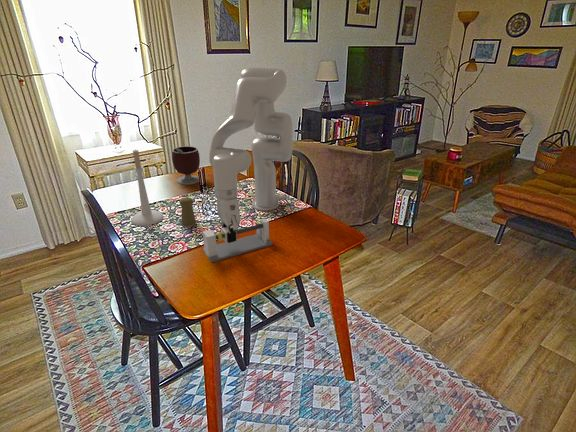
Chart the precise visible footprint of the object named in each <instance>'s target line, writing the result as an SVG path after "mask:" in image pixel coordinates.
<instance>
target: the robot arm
mask: <svg viewBox="0 0 576 432" xmlns="http://www.w3.org/2000/svg"><path fill="white" fill-rule="evenodd" d="M287 80H288V79H287V74H286V72H285V71H284V70H283V69H280V68H269V67H268V68H266V67H248V68H244V69H243V70H242V71H241V72H240V79H238V81H237V82H236V85H235V89H234V90H235V91H234V94H233V101H232V105H231V109H230V115H229V116H228V119H227V120H225V121H224V122H223V123H222V124H221V125H220V126H219V127H218V129H216V131H215V133H214V134H213V137H212V139H211V143H210V149H209V156H208V158H209V159H208V160H209V163H210V165H211V167H212V169H213V170H212V174H213V183H214V185H213V186H214V197H215V198H216V211H217V216H218V218H219V220H220V224H221V228H224V227H227V229H228V233H227V242H228V243H231V242H235V241H236V230H238V229H239V227H238V225H240V224H241V213H240V205H239V200H238V195H239V193H238V192H239V191H238V174H240V173H243V172H245V171H247V170H248V169H249V167H250V166H251V165H252V161H253V169H254V170H253V173H254V199H253V200H252V202H251V207H252V208H253V209H255V210H257V211H261V212H262V211H263V212H264V211H265V212H266V211H267V212H269V211H273V210H277V208H279V206H280V202H279V201H280V200H284V199H286V196H285V194H282V195H280V193H276V192H277V188H276V187H277V185H276V184H277V171H276V170H277V169H276V165H275V164H274V162H282V163H283V162H289V161H290V160H291V159H292V157H293V120H292V117H291V115H290V114H289V113H287V112H281V111H275V102H276V101H277V100H278V99H279V97H280V96H281V95H282V94H283V92H284V91H285V89H286V86H287ZM252 126H254V131H255V132H256V133H257V134H259V135H261V136H258V137H256V138H254V140H252V141H251V142H252V143H251V146H250V147H251V153H252V154H251V153H250V152H249V151H248V150H246V149H241V148H234V147H233V148H232V147H225V143H226V141H227V140H228V138H229V137H231V136H232V135H234V134H236V133H238V132H240V131H243V130H247V129H249V128H251V127H252ZM262 135H263V136H262ZM268 136H270V137H268ZM271 136H273V137H271ZM252 158H253V160H252ZM273 161H274V162H273ZM230 226H233V227H232V228H231V229H230Z"/></svg>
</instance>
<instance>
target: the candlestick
mask: <svg viewBox="0 0 576 432" xmlns="http://www.w3.org/2000/svg"><path fill="white" fill-rule="evenodd" d="M132 153H133V154H132V155H133V160H134V164H135V166H134V167H133V169H135V172H136V175H137V185H138V190H139V191H138V192H139V199H140V201H139V202H140V207H141V208H140V209H141V211H140V212H137V213H136V214H134V215H133V216H132V217H131V219H130V222H131V224H132V225H135V226H138V227H139V226H141V227H145V226H147V225H148V226H153V225H156V224H158V223H160V222H162V221H163V219H164V214H163V213H162V212H160V211H159V210H155V209H151V206H150V201H149V197H148V193H147V189H146V185H145V180H144V176H143V171H144V170H143V168H144V166H143V165H142V164H141V159H140V153H139V150H138V149H134V150H132ZM152 224H153V225H152Z"/></svg>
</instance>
